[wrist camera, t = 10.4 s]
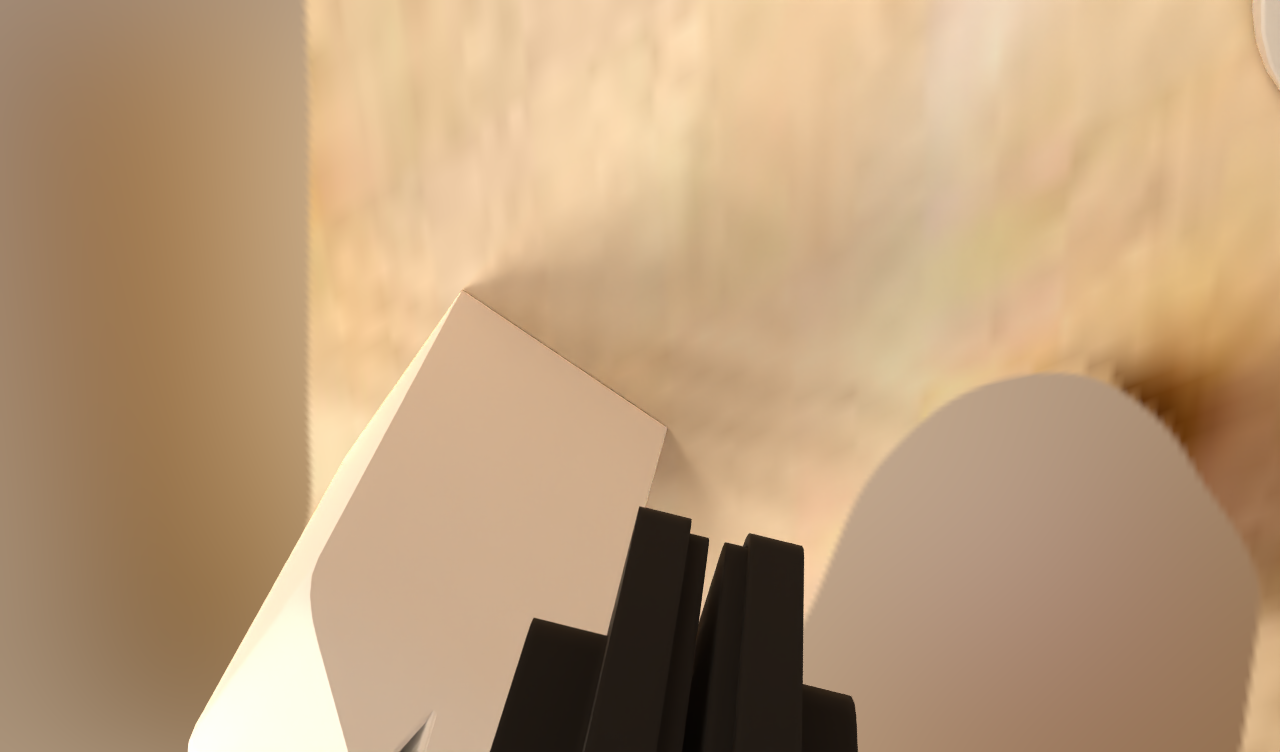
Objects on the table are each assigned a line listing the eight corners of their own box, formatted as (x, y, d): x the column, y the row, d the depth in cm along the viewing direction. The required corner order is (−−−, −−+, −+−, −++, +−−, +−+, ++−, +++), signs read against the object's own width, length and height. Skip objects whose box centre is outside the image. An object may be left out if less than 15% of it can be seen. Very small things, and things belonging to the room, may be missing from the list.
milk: (462, 289, 48) (172, 755, 26) (667, 427, 51) (560, 962, 29) (345, 456, 54) (27, 953, 32) (534, 573, 57) (359, 1112, 34)
